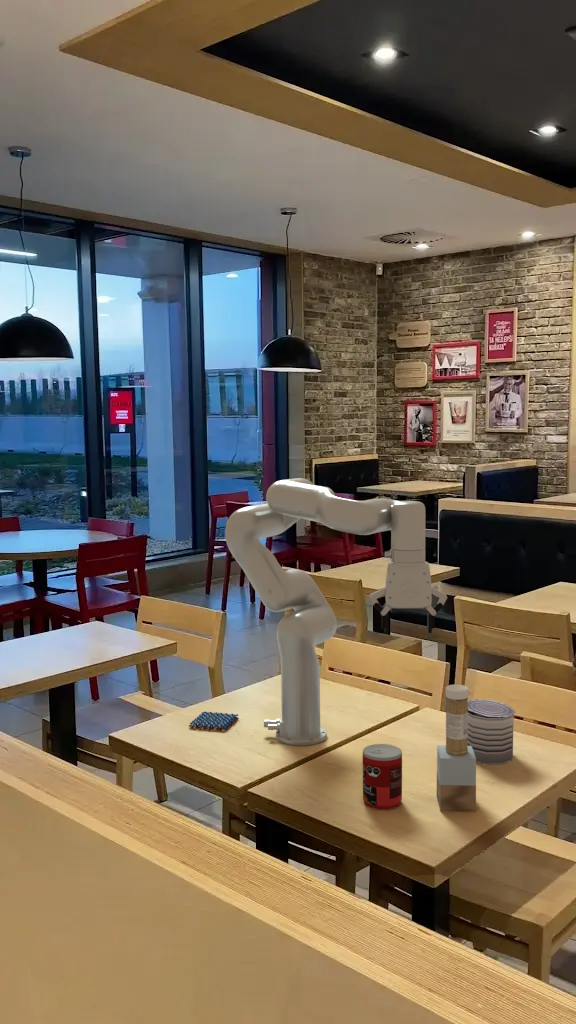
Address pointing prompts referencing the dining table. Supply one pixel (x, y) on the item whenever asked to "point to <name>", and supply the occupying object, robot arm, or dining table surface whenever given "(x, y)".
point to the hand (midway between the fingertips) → (408, 631)
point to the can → (490, 731)
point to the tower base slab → (456, 798)
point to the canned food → (382, 776)
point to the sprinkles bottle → (456, 719)
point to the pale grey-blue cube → (456, 767)
